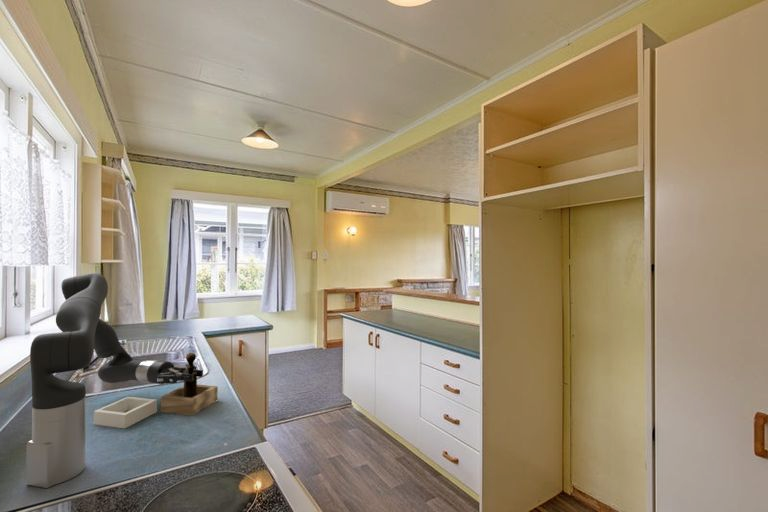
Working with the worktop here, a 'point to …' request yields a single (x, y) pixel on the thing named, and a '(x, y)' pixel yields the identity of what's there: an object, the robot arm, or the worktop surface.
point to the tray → (116, 417)
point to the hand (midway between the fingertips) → (197, 375)
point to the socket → (189, 400)
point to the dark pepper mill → (190, 386)
